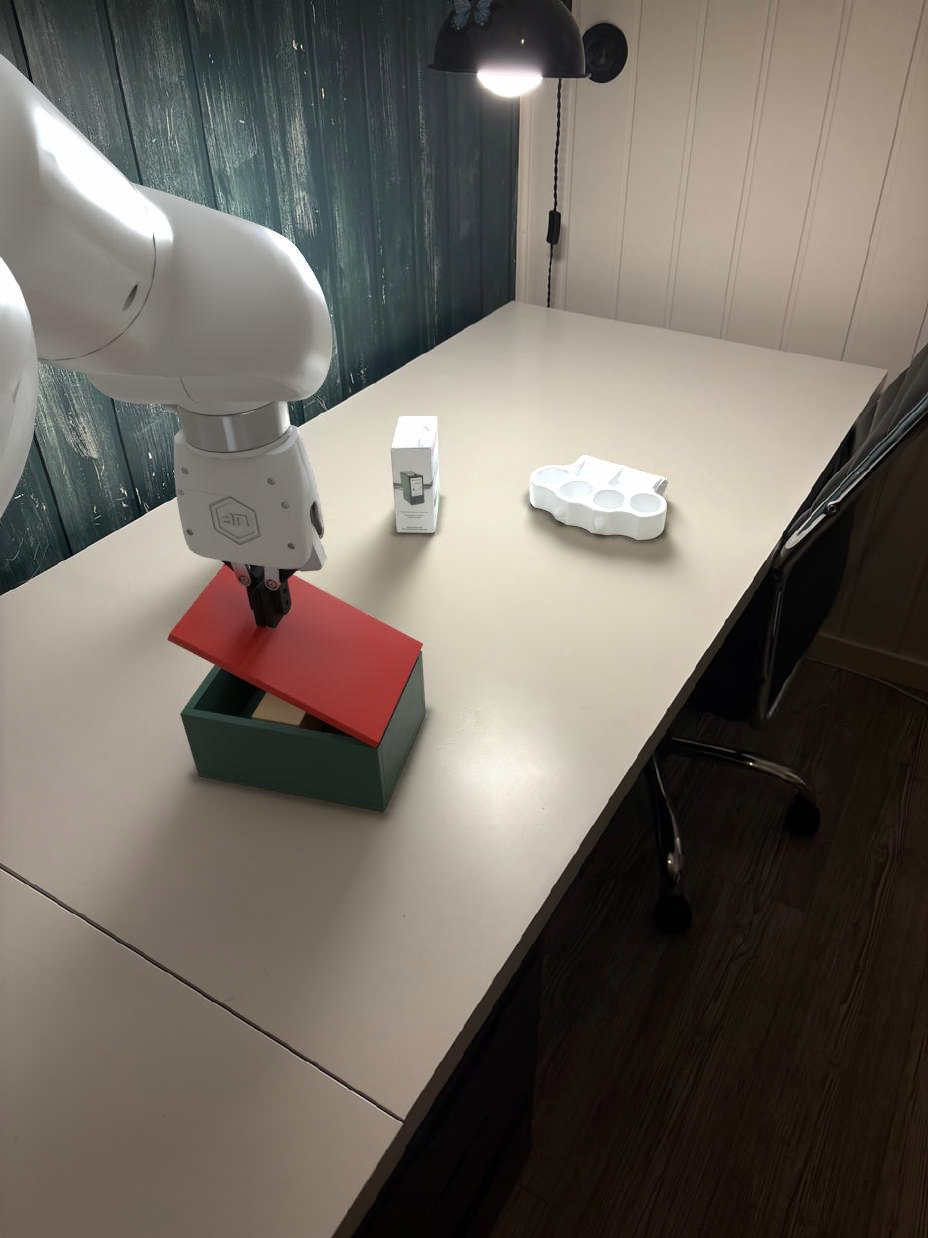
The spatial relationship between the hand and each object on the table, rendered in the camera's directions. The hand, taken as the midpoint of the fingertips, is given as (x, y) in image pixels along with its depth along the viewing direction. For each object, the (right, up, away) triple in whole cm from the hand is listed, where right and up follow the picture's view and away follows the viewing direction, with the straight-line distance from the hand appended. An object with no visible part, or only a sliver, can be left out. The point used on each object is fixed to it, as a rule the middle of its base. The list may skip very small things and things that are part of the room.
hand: (273, 616), depth 77 cm
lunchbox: (+2, -12, +8) cm, 15 cm away
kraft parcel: (0, -11, +8) cm, 14 cm away
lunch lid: (+2, -2, +1) cm, 3 cm away
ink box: (+10, +13, +39) cm, 42 cm away
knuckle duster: (+33, +14, +40) cm, 54 cm away
